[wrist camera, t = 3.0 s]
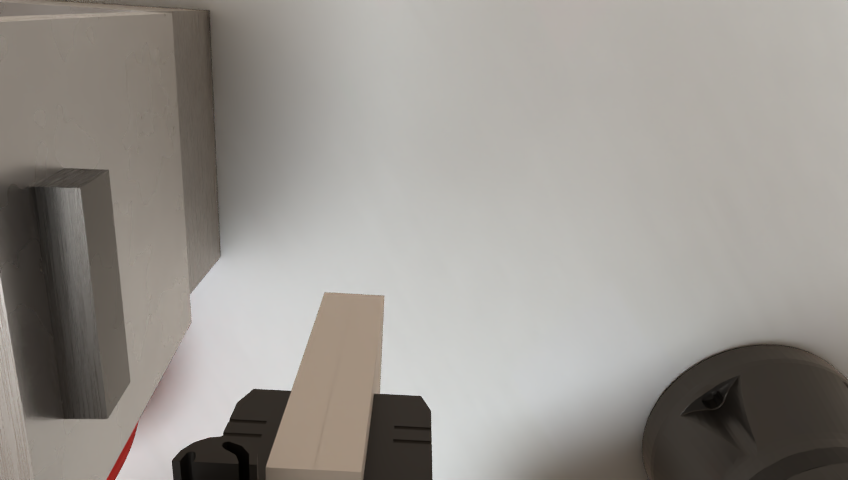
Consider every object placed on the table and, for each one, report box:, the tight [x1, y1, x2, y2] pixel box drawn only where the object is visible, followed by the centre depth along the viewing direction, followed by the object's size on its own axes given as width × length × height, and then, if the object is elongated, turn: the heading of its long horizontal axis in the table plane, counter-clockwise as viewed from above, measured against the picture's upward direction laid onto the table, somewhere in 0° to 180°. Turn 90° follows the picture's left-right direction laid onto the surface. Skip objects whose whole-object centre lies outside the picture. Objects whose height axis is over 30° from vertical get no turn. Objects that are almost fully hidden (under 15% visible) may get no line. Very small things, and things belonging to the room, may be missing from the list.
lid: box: [0, 11, 192, 480], centre depth 23 cm, size 16×15×2 cm
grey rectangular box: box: [0, 0, 220, 294], centre depth 35 cm, size 18×15×9 cm
